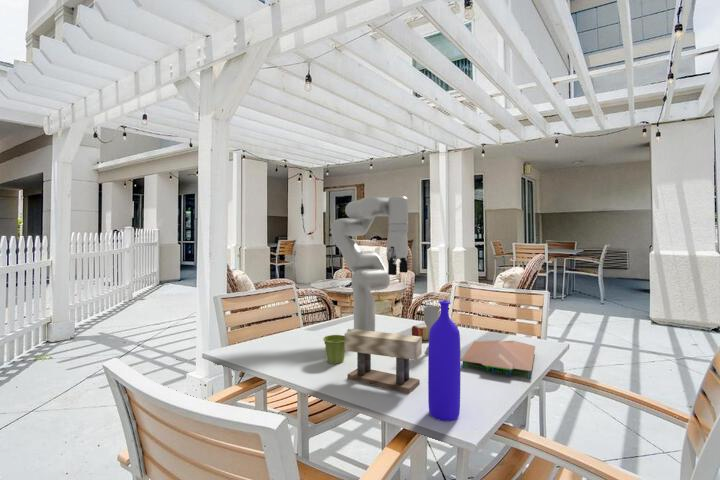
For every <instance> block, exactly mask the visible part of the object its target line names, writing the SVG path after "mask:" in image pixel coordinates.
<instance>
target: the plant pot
mask: <svg viewBox="0 0 720 480" xmlns="http://www.w3.org/2000/svg"><path fill="white" fill-rule="evenodd" d="M322 340H323V342H324V345H325V352H326V353H325V354H326V360H327V362H328V363H329V364H334V365H336V364H342V363H343V362H344V360H345V355H346V354H345V353H346V351H345V335H341V334H330V335H326V336H324V337H323V339H322Z"/></svg>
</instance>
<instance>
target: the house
mask: <svg viewBox="0 0 720 480" xmlns="http://www.w3.org/2000/svg"><path fill="white" fill-rule="evenodd" d="M535 350H536V346H535V345H533V344H528V343H525V342H521V341H517V340H479V341H477V340H476V341H473V342H472V343H471V344H470V346H469V348H468V349H467V350H466V352H465V353H464V355H463V356H462V358H460V362H461V361H462V368H463V369H464V368H465V367H466V366H467V364H468V363H472V364H470V367H471V366H472V367H473V364H475V365H474V367H477V368H479V367H480V365H481V368H482V369H481V370H482V371H483V372H484V369H486V372H489V373H490V369H491V370H492V374H495V369H497V370H496V373H497V372H498V373H501V370H504V373H505V374H507V371H509V377H511V375H512V373H513V370H517V371H515V372H514V373H515V374H517V373H518V375H517V376H518V377H519V376H520V375H519V374H520V371H524V372H523V373H522V372H521V375H525V376H526V378H528V379H530V374H531V372H532V370H533V365H534V364H533V363H534V359H535V358H534V356H535ZM476 364H479V366H478V365H476ZM499 369H500V371H499ZM525 372H526V373H525Z"/></svg>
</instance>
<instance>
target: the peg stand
mask: <svg viewBox="0 0 720 480" xmlns="http://www.w3.org/2000/svg"><path fill="white" fill-rule="evenodd" d="M356 353H357V354H356V355H357V356H356V357H357V358H356V359H357V368H356V369H354V370H352V371H350V372H349V373H347V379H348V380H351V381H355V382H358V383H362V384H367V385H372V386H376V387H379V388H383V389H389V390H392V391H393V390H394V391H396V392H401V393H406V394H409V393H410V394H411V393H412V392H413V391H414V390H415V389H416V388H417V387H418V386H420V384H421V383H420V382H421V381H420V379H418V378H413V377H410V359H403V358H396V357H395V362H396V363H395V374H394V373H391V372H386V371H382V370H377V369H372V362H371V360H372V359H371V357H372V356H371V355H372V354H367V353H359V352H356Z"/></svg>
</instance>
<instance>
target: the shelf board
mask: <svg viewBox="0 0 720 480" xmlns="http://www.w3.org/2000/svg"><path fill="white" fill-rule="evenodd" d="M344 336H345V352H353V353H357V352H359V353H367V354H371V355H374V356H375V355H376V356H381V357H382V356H383V357H390V358H395V359H396V358H403V359H409V360H413V361H417V360H418V359H419V358H420V357H421V356H422V354H423V353H422V352H423V351H422V350H423V349H422V347H423V346H422V343H423V341H422V337H420V336H412V334H411V335H408V334H402V333H401V334H400V333H391V332H382V331H376V330H375V331H366V330H357V329H354V328H352V330H350V331H349V332H347V331H346V332H345V333H344Z"/></svg>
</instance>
